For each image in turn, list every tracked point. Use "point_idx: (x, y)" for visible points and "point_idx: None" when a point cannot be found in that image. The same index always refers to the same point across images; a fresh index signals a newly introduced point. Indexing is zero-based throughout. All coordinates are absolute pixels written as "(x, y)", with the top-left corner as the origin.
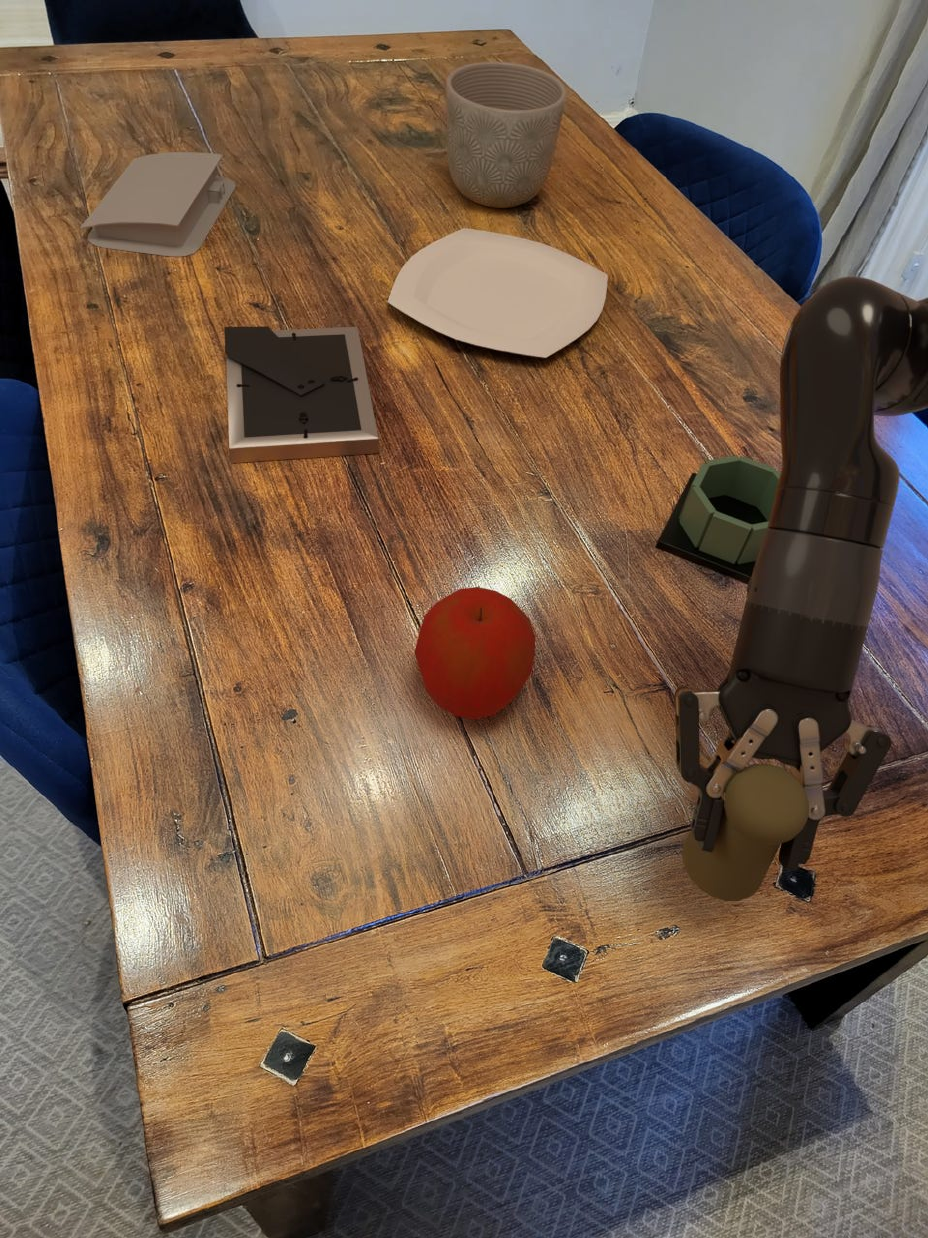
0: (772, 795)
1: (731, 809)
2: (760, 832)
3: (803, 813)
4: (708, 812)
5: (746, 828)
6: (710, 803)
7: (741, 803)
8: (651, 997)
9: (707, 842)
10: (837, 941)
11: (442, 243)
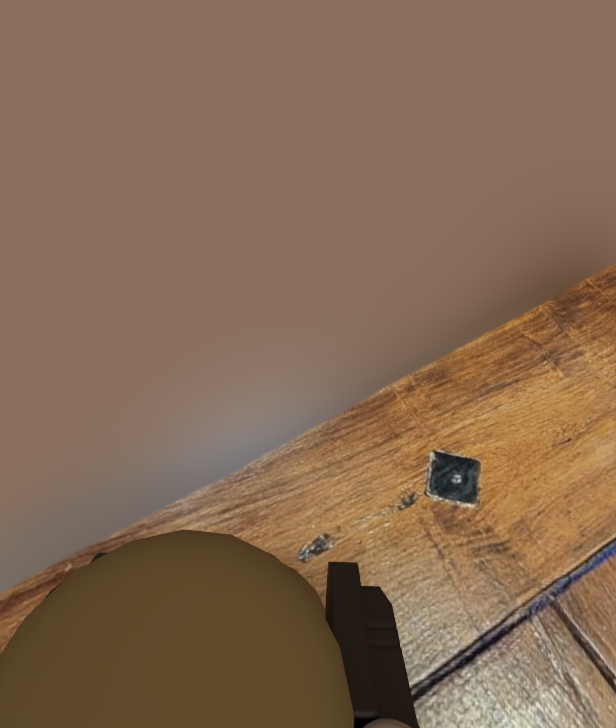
0: (153, 726)
1: (334, 639)
2: (227, 537)
3: (10, 654)
4: (373, 670)
5: (274, 558)
6: (379, 705)
7: (311, 649)
8: (333, 451)
9: (351, 576)
10: (43, 591)
11: None
